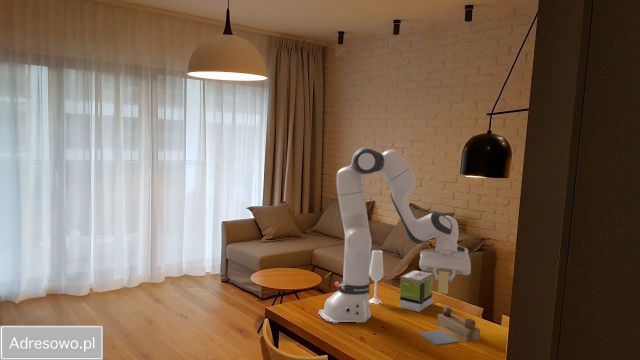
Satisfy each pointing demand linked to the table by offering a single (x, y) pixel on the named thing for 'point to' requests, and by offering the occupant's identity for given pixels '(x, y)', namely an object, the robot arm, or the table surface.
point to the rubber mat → (439, 337)
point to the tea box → (416, 290)
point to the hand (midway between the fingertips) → (443, 280)
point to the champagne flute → (376, 272)
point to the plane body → (458, 325)
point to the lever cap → (443, 281)
